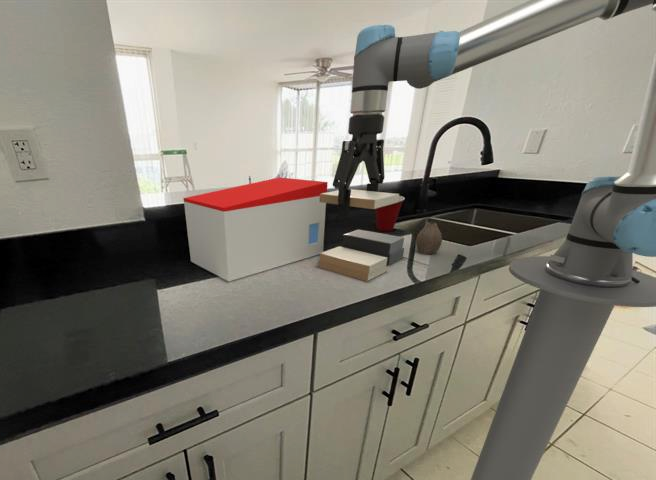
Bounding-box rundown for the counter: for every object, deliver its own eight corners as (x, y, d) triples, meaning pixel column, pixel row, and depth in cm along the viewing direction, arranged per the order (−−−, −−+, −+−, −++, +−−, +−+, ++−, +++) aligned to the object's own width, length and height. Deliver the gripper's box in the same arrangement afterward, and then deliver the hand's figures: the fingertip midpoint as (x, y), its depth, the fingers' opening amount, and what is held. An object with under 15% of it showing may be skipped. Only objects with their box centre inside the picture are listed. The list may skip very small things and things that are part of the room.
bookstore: (323, 252, 103) (328, 181, 94) (228, 281, 84) (222, 196, 76) (279, 239, 118) (279, 177, 109) (190, 261, 99) (182, 188, 91)
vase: (427, 257, 97) (433, 227, 94) (409, 250, 103) (413, 222, 99) (444, 253, 100) (451, 224, 96) (426, 247, 105) (431, 219, 102)
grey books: (403, 258, 97) (406, 237, 95) (388, 265, 92) (391, 244, 89) (357, 247, 108) (359, 229, 105) (341, 253, 102) (343, 234, 100)
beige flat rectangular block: (398, 202, 81) (399, 193, 80) (373, 209, 74) (374, 200, 73) (345, 196, 91) (346, 188, 90) (319, 202, 84) (319, 193, 84)
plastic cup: (363, 229, 128) (367, 197, 123) (380, 225, 134) (384, 194, 129) (388, 234, 120) (393, 200, 115) (405, 229, 126) (411, 197, 121)
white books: (385, 272, 87) (387, 257, 86) (367, 281, 82) (368, 266, 80) (337, 259, 98) (338, 246, 96) (318, 266, 92) (318, 253, 91)
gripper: (379, 116, 84) (368, 205, 94) (320, 114, 70) (314, 218, 79) (408, 114, 79) (394, 208, 88) (351, 111, 65) (341, 223, 74)
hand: (356, 213), depth 84 cm, fingers closed on beige flat rectangular block, 11 cm apart
